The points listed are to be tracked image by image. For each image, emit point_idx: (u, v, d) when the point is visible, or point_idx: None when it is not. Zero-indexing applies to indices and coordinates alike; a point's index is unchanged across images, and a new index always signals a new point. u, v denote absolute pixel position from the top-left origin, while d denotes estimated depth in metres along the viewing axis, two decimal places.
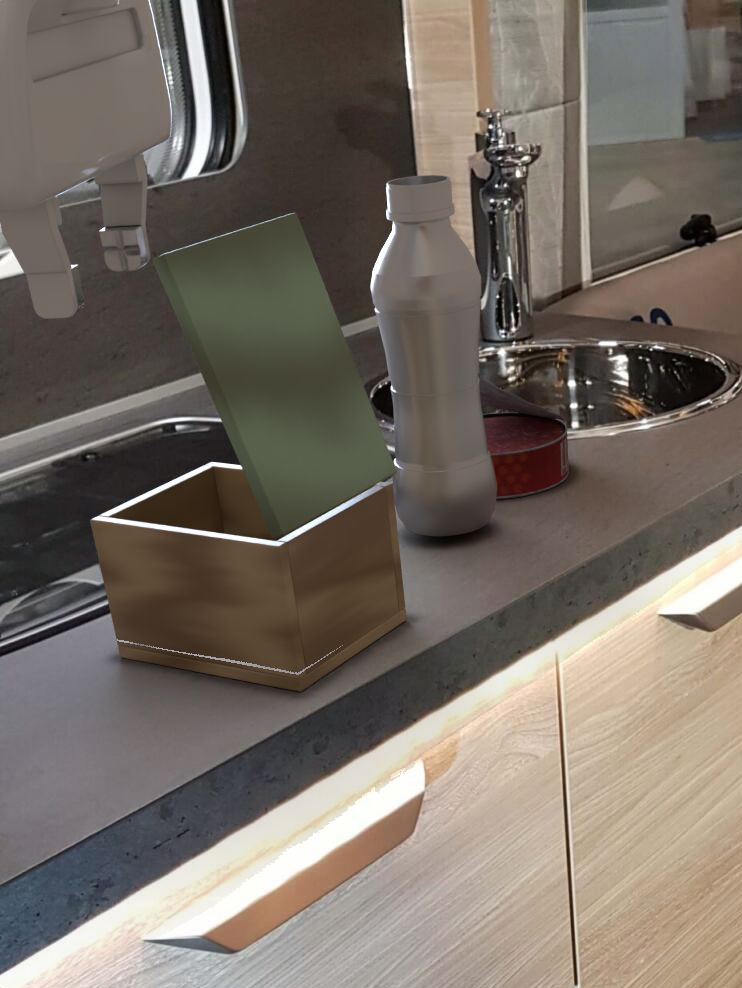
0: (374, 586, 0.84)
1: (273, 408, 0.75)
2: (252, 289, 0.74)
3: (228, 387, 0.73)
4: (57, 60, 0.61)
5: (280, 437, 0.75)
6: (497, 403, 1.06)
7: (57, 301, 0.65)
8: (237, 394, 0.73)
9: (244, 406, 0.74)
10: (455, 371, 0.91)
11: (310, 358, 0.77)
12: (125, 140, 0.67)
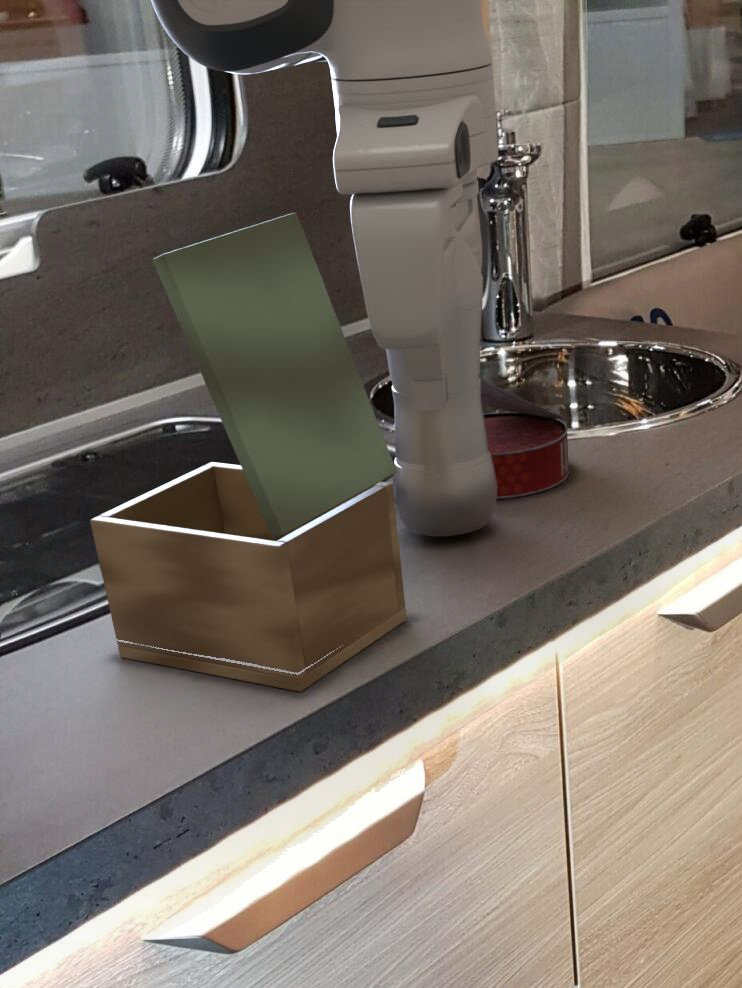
0: (374, 586, 0.84)
1: (273, 408, 0.75)
2: (252, 289, 0.74)
3: (228, 387, 0.73)
4: None
5: (280, 437, 0.75)
6: (497, 403, 1.06)
7: (433, 399, 0.90)
8: (237, 394, 0.73)
9: (244, 406, 0.74)
10: (457, 371, 0.91)
11: (310, 358, 0.77)
12: None
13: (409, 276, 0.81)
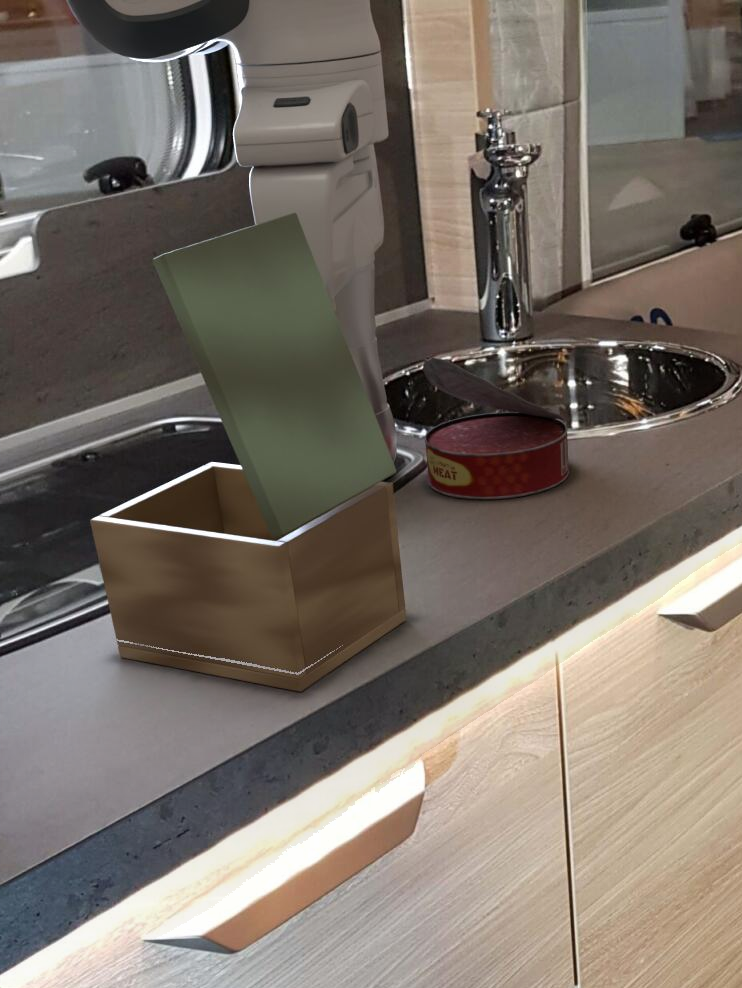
0: (374, 586, 0.84)
1: (273, 408, 0.75)
2: (252, 289, 0.74)
3: (228, 387, 0.73)
4: (338, 207, 0.95)
5: (280, 437, 0.75)
6: (497, 403, 1.06)
7: None
8: (237, 394, 0.73)
9: (244, 406, 0.74)
10: (352, 329, 1.01)
11: (310, 358, 0.77)
12: None
13: None
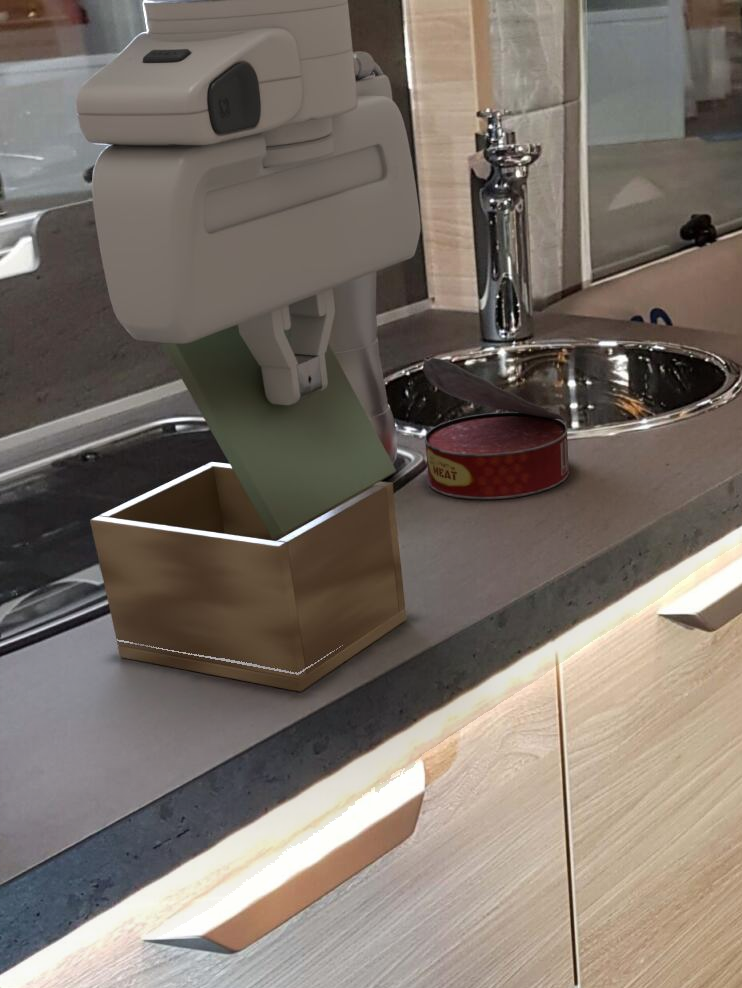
0: (374, 586, 0.84)
1: (261, 413, 0.76)
2: None
3: (212, 394, 0.73)
4: (252, 207, 0.68)
5: (271, 440, 0.76)
6: (497, 403, 1.06)
7: (282, 391, 0.75)
8: (222, 401, 0.74)
9: (231, 412, 0.74)
10: (354, 331, 1.01)
11: None
12: (338, 267, 0.74)
13: (145, 254, 0.65)
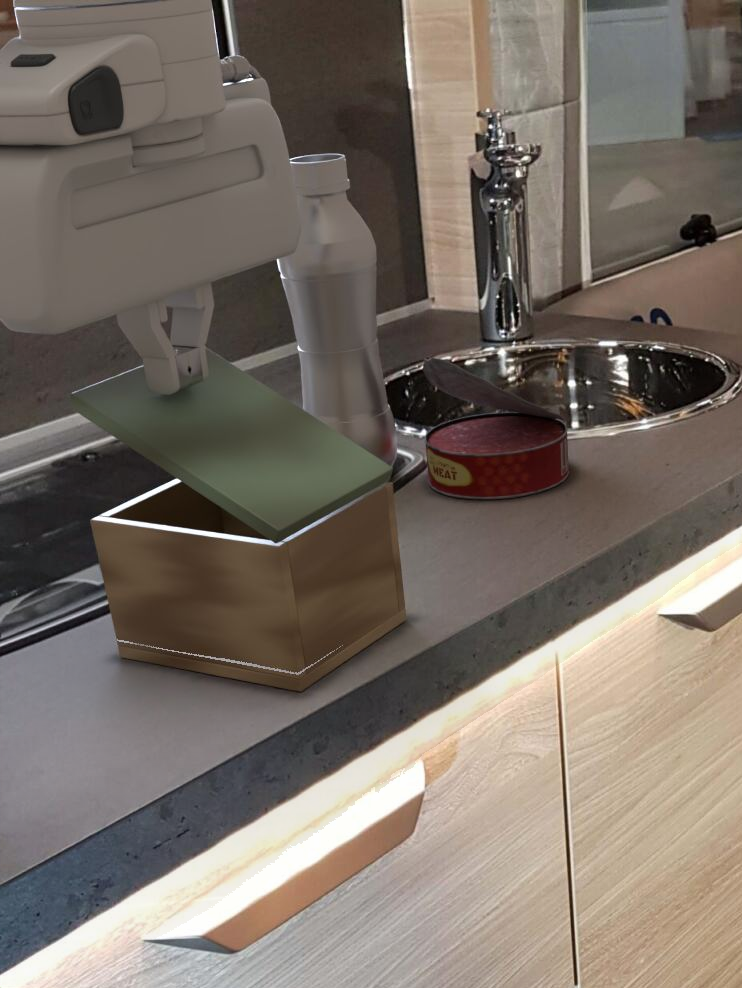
0: (374, 586, 0.84)
1: (229, 456, 0.78)
2: (173, 393, 0.80)
3: (173, 453, 0.77)
4: (123, 205, 0.72)
5: (246, 471, 0.78)
6: (497, 403, 1.06)
7: (162, 381, 0.78)
8: (185, 455, 0.77)
9: (196, 460, 0.77)
10: (354, 331, 1.01)
11: (255, 419, 0.81)
12: (214, 262, 0.77)
13: (13, 248, 0.68)
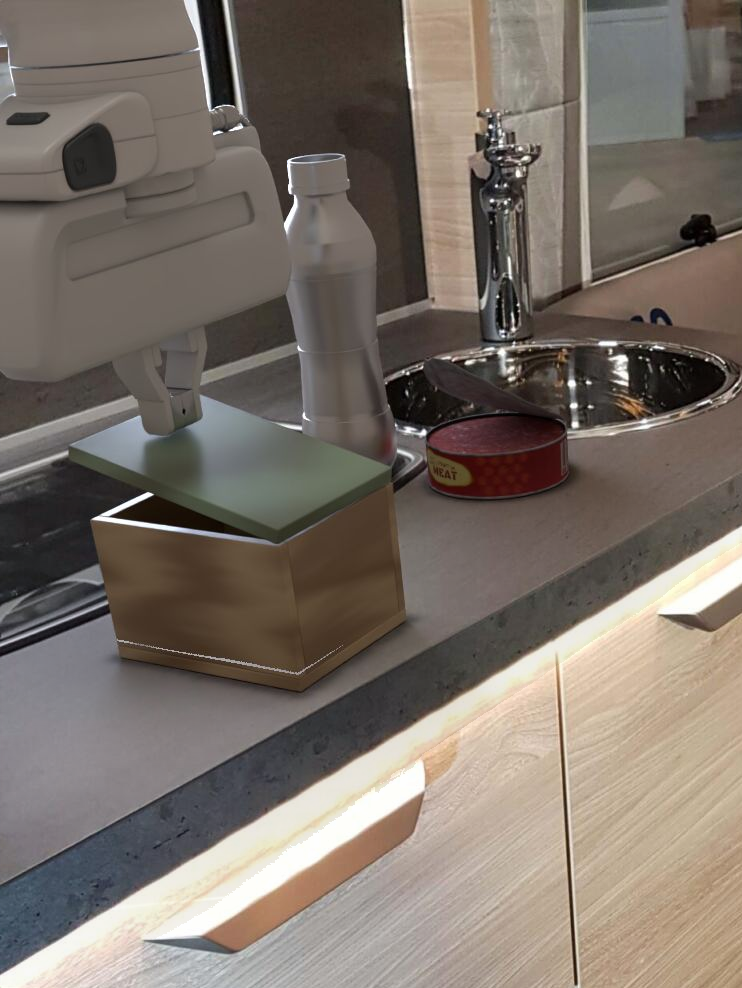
0: (374, 586, 0.84)
1: (225, 476, 0.79)
2: None
3: (169, 480, 0.78)
4: (117, 255, 0.73)
5: (242, 486, 0.78)
6: (497, 403, 1.06)
7: (157, 422, 0.80)
8: (181, 480, 0.78)
9: (193, 484, 0.78)
10: (354, 331, 1.01)
11: (251, 444, 0.82)
12: (207, 307, 0.79)
13: (11, 301, 0.70)
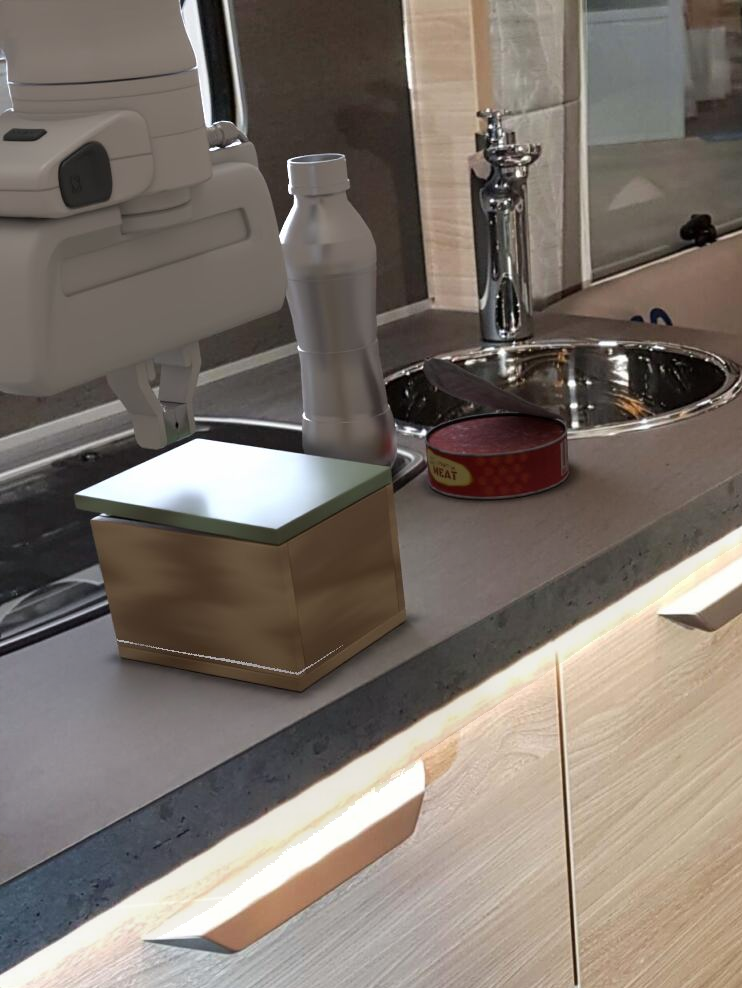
0: (374, 586, 0.84)
1: (225, 496, 0.80)
2: (171, 472, 0.83)
3: (170, 506, 0.79)
4: (112, 271, 0.74)
5: (242, 501, 0.79)
6: (497, 403, 1.06)
7: (150, 436, 0.81)
8: (182, 505, 0.79)
9: (193, 506, 0.79)
10: (354, 331, 1.01)
11: (251, 469, 0.83)
12: (201, 322, 0.79)
13: (5, 316, 0.70)
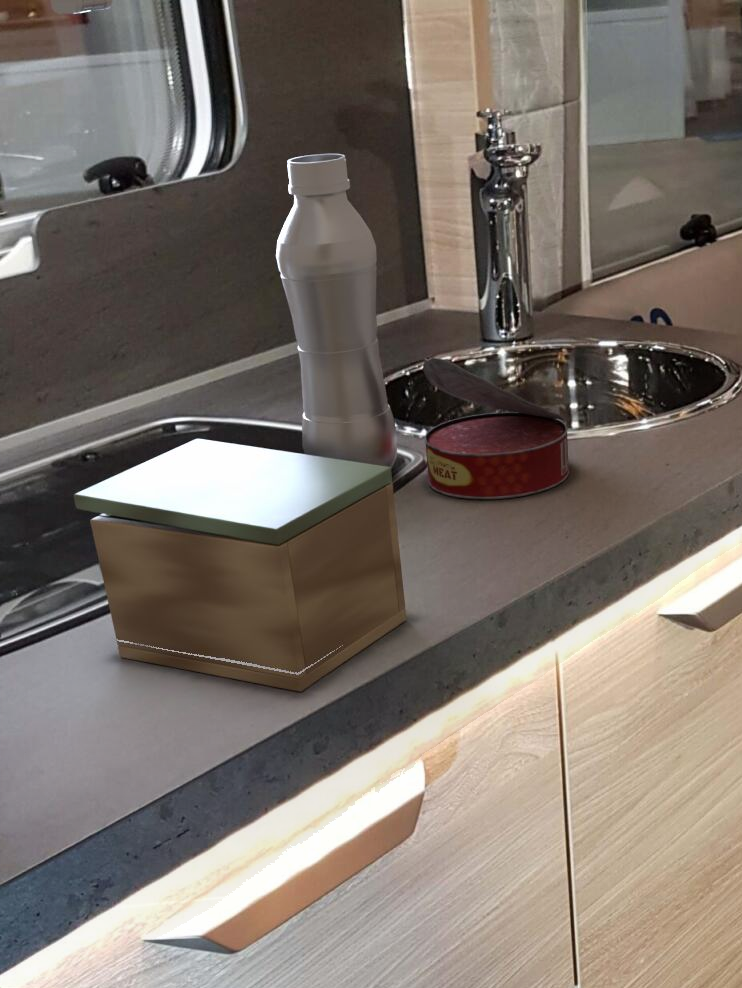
0: (374, 586, 0.84)
1: (225, 496, 0.80)
2: (171, 472, 0.83)
3: (170, 506, 0.79)
4: None
5: (242, 501, 0.79)
6: (497, 403, 1.06)
7: None
8: (182, 505, 0.79)
9: (193, 506, 0.79)
10: (354, 331, 1.01)
11: (251, 469, 0.83)
12: None
13: None
